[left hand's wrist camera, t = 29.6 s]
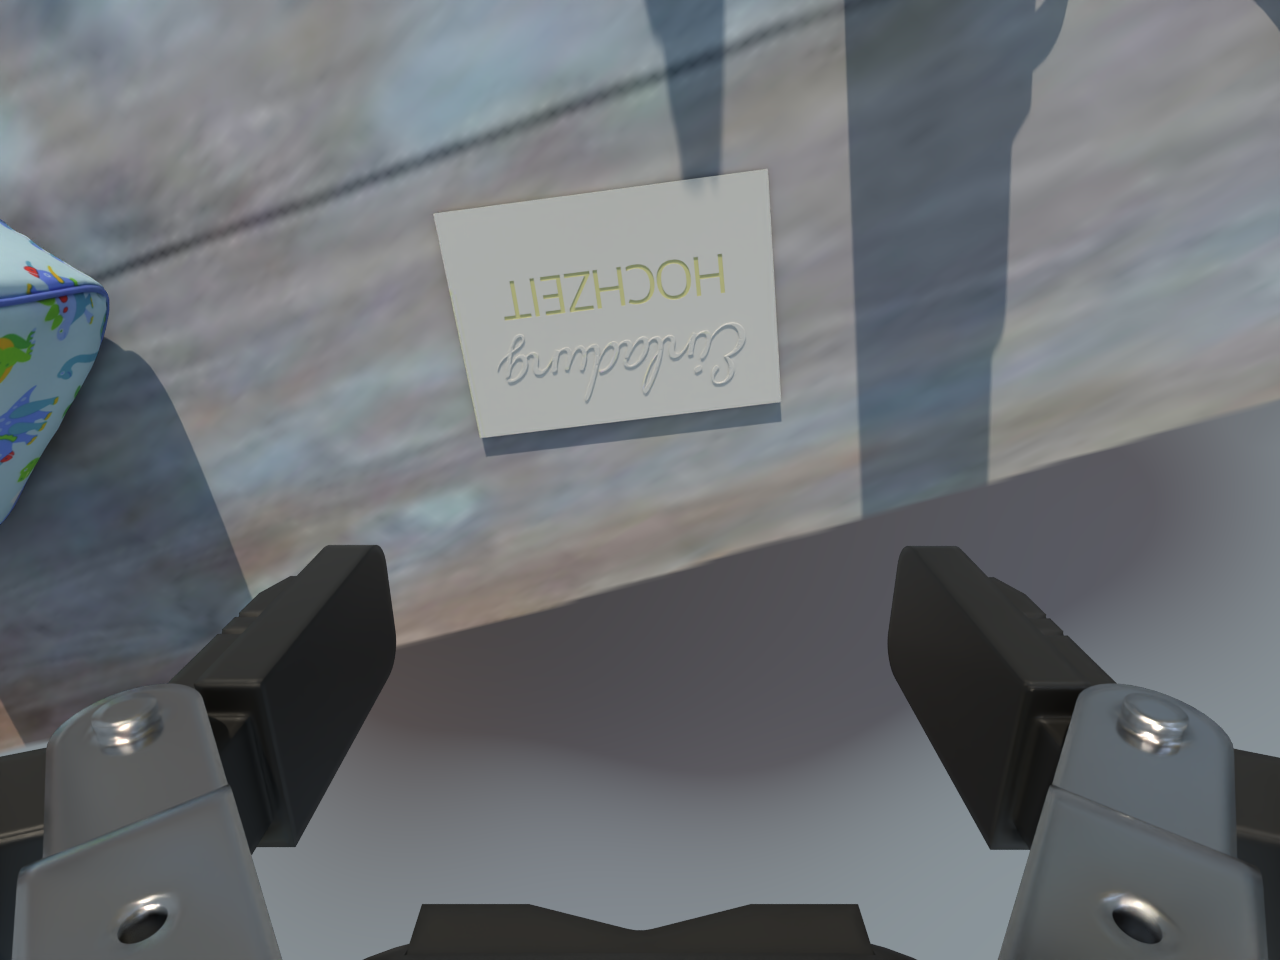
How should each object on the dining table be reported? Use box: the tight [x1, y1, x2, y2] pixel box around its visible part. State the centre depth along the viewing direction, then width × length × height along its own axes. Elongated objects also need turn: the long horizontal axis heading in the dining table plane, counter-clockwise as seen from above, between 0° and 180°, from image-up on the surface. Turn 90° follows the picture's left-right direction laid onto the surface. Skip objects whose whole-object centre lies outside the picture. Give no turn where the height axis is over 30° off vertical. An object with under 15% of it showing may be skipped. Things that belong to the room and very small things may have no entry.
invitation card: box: [433, 169, 781, 438], centre depth 48 cm, size 21×1×15 cm
